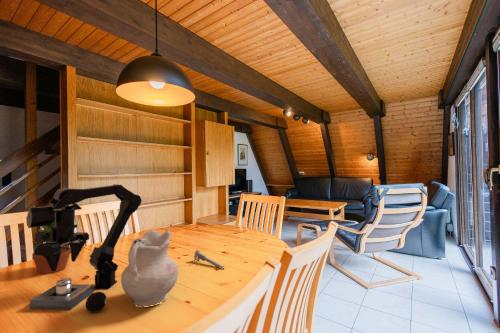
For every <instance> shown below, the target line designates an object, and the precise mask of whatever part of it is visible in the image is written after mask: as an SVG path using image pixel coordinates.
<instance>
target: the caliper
mask: <svg viewBox="0 0 500 333" xmlns="http://www.w3.org/2000/svg"><path fill="white" fill-rule="evenodd" d="M193 258H194V261H195V260H196V262H197V261H198V262H200V260H201V261H203V262H207V263H210V264H211V265H213V266H214V267H216V266H217V267H216V268H218V267H221V268H223V267H224V265H222V264H221V263H219V262H217V261H215V260H214V259H211V258H209V257H207V256H206V255H205V254H203V253H201V252H200V250H199V249H198V248H197V249H196V250H195V251H194V257H193ZM224 268H225V267H224Z"/></svg>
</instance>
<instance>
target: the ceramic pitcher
mask: <svg viewBox="0 0 500 333" xmlns="http://www.w3.org/2000/svg"><path fill="white" fill-rule="evenodd" d="M171 231H172V230H171V229H165V232H164V233H162V232H160V231H158V230H153V229H152V230H151V229H150V230H148V231H146V232H145V233H144V234H143V235H142V237H141V238H140V237H138V238H133V241H132V243H131V245H130V247H129V251H128V254H127V255H128V258H127V259H128V265H127V266H126V267H125V268H124V270H123V271H122V272H121V275H120V276H121V277H120V283H121V287H122V290H123V292H124V293H125V294H126V296H128V297H130V298H131V299H132V300H133V305H134V304H135V305H137V306H141V307H140V308H143V307H144V306H150V305H155V304H157V303H160V302H163V301H164V300H165V299H166V300H167V298H168V296H167V293H168V294H169V293H170V292H171V291H172V289H173V288H174V287H175V285H176V283H177V281H178V278H179V267H178V264H177V263H176V261H175V260H173V259H171V258H170V257H169V256H168V248H169V246H170V244H171V238H172V237H171V236H172V233H171ZM166 297H167V298H166ZM166 300H165V301H166ZM165 301H164V302H165ZM164 302H163V303H164ZM135 305H134V306H135Z"/></svg>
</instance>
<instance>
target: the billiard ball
mask: <svg viewBox="0 0 500 333" xmlns="http://www.w3.org/2000/svg"><path fill="white" fill-rule="evenodd" d="M107 301H108V299H107V295H106V294H105V292H102V291H96V292H93V293H92V294H91V295H90V296H88V297H87V298H86V300H85V308H86V311H87V312H90V313H97V312H100V311H101V310H103V309H104V307H105V306H106V304H107Z"/></svg>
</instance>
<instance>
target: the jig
mask: <svg viewBox="0 0 500 333" xmlns="http://www.w3.org/2000/svg"><path fill="white" fill-rule="evenodd" d="M94 286H95V283H90V284H82V283H81V284H80V283H79V284H75V283H73V284H71V293H70V294H68V295H67V296H56V285H54V286H52V287H51V288H48V289H47V290H45V291H44V292H41V293H40V294H38V295H36V296H35V297H33V298H31V299H29V310H49V311H50V310H53V311H71V310H72V309H73V308H75V307H76V306H78V305H79V304H80V303H81V302H83V301H85V299H86V300H87V298H88V297H89V296H90V295H91V294H93V293H94Z"/></svg>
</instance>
